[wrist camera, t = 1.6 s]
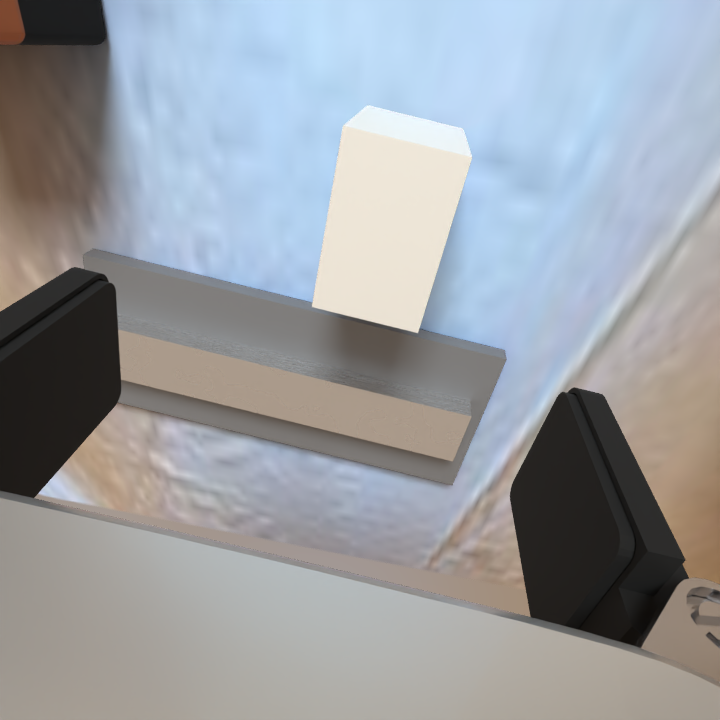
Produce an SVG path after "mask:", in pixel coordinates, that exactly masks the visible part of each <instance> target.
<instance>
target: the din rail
mask: <svg viewBox="0 0 720 720" xmlns="http://www.w3.org/2000/svg"><path fill="white" fill-rule="evenodd" d="M117 318H118V336H119V353H120V371H121V380H125V381H129V382H133V383H137V384H141V385H145V386H149V387H153V388H157V389H161V390H165V391H169V392H173V393H177V394H182V395H186V396H190V397H194V398H198V399H202V400H206V401H210V402H214V403H218V404H222V405H226V406H230V407H234V408H238V409H242V410H246V411H250V412H254V413H258V414H262V415H267V416H271V417H275V418H279V419H283V420H287V421H291V422H295V423H299V424H303V425H307V426H311V427H315V428H319V429H323V430H327V431H331V432H335V433H339V434H343V435H347V436H352V437H356V438H360V439H364V440H368V441H372V442H376V443H380V444H384V445H388V446H392V447H396V448H400V449H404V450H408V451H412V452H416V453H420V454H424V455H428V456H433V457H437V458H441V459H445V460H449V461H453V460H454V458H455V455H456V453H457V450H458V448H459V446H460V443H461V441H462V438H463V436H464V434H465V431H466V429H467V426H468V424H469V422H470V419H471V417H472V416H471V405H470V401H468V400H464V399H460V398H456V397H452V396H448V395H444V394H440V393H436V392H432V391H428V390H424V389H420V388H416V387H412V386H408V385H403V384H399V383H395V382H391V381H387V380H383V379H379V378H375V377H371V376H367V375H363V374H359V373H355V372H351V371H347V370H343V369H339V368H335V367H331V366H326V365H322V364H318V363H314V362H310V361H306V360H302V359H298V358H294V357H290V356H286V355H282V354H278V353H274V352H270V351H266V350H262V349H258V348H254V347H249V346H245V345H241V344H237V343H233V342H229V341H225V340H221V339H217V338H213V337H209V336H205V335H201V334H197V333H193V332H189V331H185V330H181V329H177V328H173V327H168V326H164V325H160V324H156V323H152V322H148V321H144V320H140V319H136V318H132V317H128V316H124V315H120V314H117Z"/></svg>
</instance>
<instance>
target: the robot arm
mask: <svg viewBox="0 0 720 720" xmlns="http://www.w3.org/2000/svg"><path fill="white" fill-rule="evenodd" d="M120 395H121V371H120V353H119V336H118V318H117V301H116V289H115V286H114V285H113V284H112V283H109V281H108V278H107V276H105V275H104V274H102V273H98V272H93V271H89V270H85V269H81V268H76V267H74V268H71V269H69V270H68V271H66V272H64V273H63V274H61V275H59V276H58V277H56V278H55V279H53V280H51V281H50V282H48V283H46V284H45V285H43V286H42V287H40V288H38V289H37V290H35V291H33V292H32V293H30V294H28V295H27V296H25V297H24V298H22V299H20V300H19V301H17V302H15V303H14V304H12V305H11V306H9V307H7V308H6V309H4V310H2V311H1V312H0V720H720V584H717V583H715V582H712V581H710V580H706V579H700V578H690V579H689V577H688V575H687V573H686V571H685V569H684V567H683V565H682V564H683V562H684V561H685V558H684V556H683V554H682V552H681V550H680V548H679V546H678V544H677V542H676V540H675V538H674V536H673V534H672V532H671V530H670V528H669V526H668V524H667V522H666V520H665V518H664V516H663V514H662V512H661V510H660V508H659V506H658V504H657V502H656V500H655V497H654V495H653V493H652V491H651V489H650V487H649V485H648V483H647V481H646V479H645V477H644V475H643V473H642V471H641V469H640V467H639V465H638V463H637V461H636V459H635V457H634V455H633V453H632V451H631V449H630V447H629V445H628V443H627V441H626V439H625V437H624V435H623V433H622V431H621V429H620V427H619V425H618V423H617V421H616V419H615V417H614V415H613V413H612V411H611V409H610V407H609V405H608V403H607V401H606V399H605V397H604V396H603V395H602V394H599V393H595V392H591V391H587V390H583V389H578V388H572V389H571V390H569V391H568V393H565V392H562V393H560V394H559V395H558V397H557V398H556V400H555V402H554V404H553V406H552V408H551V410H550V412H549V414H548V416H547V418H546V420H545V422H544V424H543V425H542V427H541V429H540V431H539V433H538V435H537V437H536V439H535V441H534V443H533V445H532V447H531V449H530V450H529V452H528V454H527V456H526V458H525V460H524V462H523V464H522V466H521V468H520V470H519V472H518V474H517V476H516V477H515V479H514V481H513V484H512V487H511V492H510V501H511V507H512V512H513V518H514V524H515V530H516V535H517V541H518V547H519V553H520V558H521V564H522V570H523V575H524V581H525V587H526V593H527V598H528V604H529V610H530V615H531V617H528V616H524V615H520V614H516V613H512V612H509V611H505V610H501V609H497V608H493V607H489V606H485V605H481V604H477V603H473V602H469V601H464V600H460V599H456V598H452V597H448V596H444V595H440V594H436V593H432V592H427V591H423V590H419V589H415V588H411V587H407V586H403V585H399V584H394V583H390V582H386V581H382V580H378V579H374V578H370V577H366V576H362V575H358V574H353V573H349V572H345V571H341V570H337V569H333V568H328V567H324V566H320V565H316V564H311V563H308V562H303V561H299V560H295V559H291V558H286V557H282V556H278V555H274V554H270V553H266V552H261V551H257V550H253V549H249V548H245V547H240V546H236V545H231V544H228V543H223V542H219V541H215V540H211V539H206V538H202V537H198V536H194V535H189V534H185V533H181V532H177V531H173V530H168V529H164V528H160V527H155V526H151V525H147V524H142V523H138V522H134V521H129V520H124V519H121V518H117V517H112V516H108V515H103V514H99V513H95V512H90V511H86V510H82V509H78V508H73V507H69V506H65V505H60V504H56V503H52V502H47V501H43V500H39V499H35V498H34V497H35V496H36V495H37V494H38V493H39V492H40V491H41V489H42V488H43V487H44V486H45V485H46V484H47V483H48V481H49V480H50V479H51V478H52V477H53V476H54V475H55V474H56V472H57V471H58V470H59V469H60V468H61V467H62V466H63V464H64V463H65V462H66V461H67V460H68V459H69V458H70V457H71V455H72V454H73V453H74V452H75V451H76V450H77V449H78V447H79V446H80V445H81V444H82V443H83V442H84V441H85V439H86V438H87V437H88V436H89V435H90V434H91V433H92V432H93V430H94V429H95V428H96V427H97V426H98V425H99V424H100V422H101V421H102V420H103V419H104V418H105V417H106V416H107V415H108V413H109V412H110V411H111V410H112V409H113V408H114V407H115V405H116V404H117V402H118V400H119V398H120Z"/></svg>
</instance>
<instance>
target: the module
mask: <svg viewBox="0 0 720 720" xmlns="http://www.w3.org/2000/svg"><path fill="white" fill-rule="evenodd" d="M471 160H472V155H471V152H470V149H469V145H468V142H467V139H466V136H465V133H464V130H463V128H459V127H455V126H450V125H446V124H442V123H438V122H434V121H430V120H426V119H422V118H418V117H414V116H410V115H406V114H402V113H398V112H393V111H389V110H385V109H381V108H377V107H373V106H369V105H367V106H366V107H365V108H364V109H362V110H361V111H360V112H359V113H358V114H356V115H355V116H354V117H353V118H352V119H350V120H349V121H348V122H347V123H346V124H344V125H343V129H342V135H341V141H340V146H339V152H338V158H337V164H336V170H335V175H334V181H333V187H332V193H331V199H330V204H329V210H328V216H327V222H326V227H325V233H324V239H323V245H322V251H321V256H320V262H319V268H318V274H317V280H316V285H315V291H314V297H313V303H312V307H314V308H318V309H322V310H326V311H330V312H334V313H338V314H342V315H346V316H351V317H355V318H359V319H363V320H367V321H371V322H375V323H379V324H383V325H387V326H391V327H395V328H399V329H403V330H407V331H411V332H416V333H418V331H419V328H420V325H421V322H422V319H423V315H424V312H425V309H426V306H427V302H428V299H429V296H430V293H431V289H432V286H433V283H434V280H435V276H436V273H437V270H438V267H439V263H440V260H441V257H442V254H443V250H444V247H445V244H446V241H447V237H448V234H449V231H450V228H451V225H452V221H453V218H454V215H455V212H456V208H457V205H458V202H459V199H460V195H461V192H462V189H463V186H464V182H465V179H466V176H467V173H468V169H469V166H470V163H471Z"/></svg>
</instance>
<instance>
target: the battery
mask: <svg viewBox="0 0 720 720" xmlns="http://www.w3.org/2000/svg"><path fill="white" fill-rule="evenodd" d="M104 40H105V30H104V24H103V18H102V12H101V6H100V1H99V0H0V45H98V44H101V43H102V42H103V41H104Z"/></svg>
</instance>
